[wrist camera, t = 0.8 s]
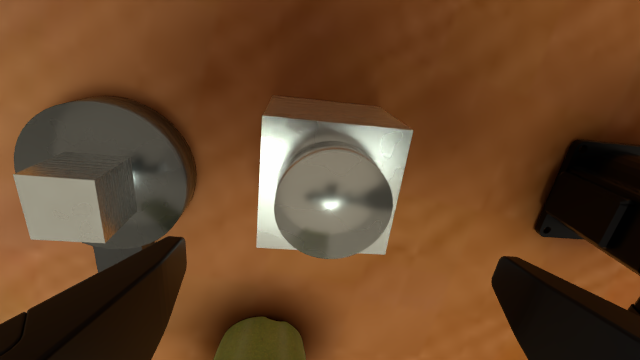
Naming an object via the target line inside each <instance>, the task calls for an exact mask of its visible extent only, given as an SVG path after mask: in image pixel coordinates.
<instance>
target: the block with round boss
mask: <svg viewBox="0 0 640 360" xmlns="http://www.w3.org/2000/svg"><path fill="white" fill-rule="evenodd" d="M412 134H413V130H412V129H411V128H409V127H408V126H406V125H405V124H404V123H402V122H401V121H399V120H398V119H396V118H395V117H394V116H392V115H391V114H389V113H388V112H387V111H385V110H384V109H382V108H381V107H379V106H371V105H361V104H352V103H342V102H333V101H323V100H314V99H304V98H295V97H285V96H276V95H273V96H272V98H271V100H270V102H269V103H268V105H267V107H266V109H265V111H264V113H263V115H262V130H261V153H260V177H259V200H258V223H257V247H256V248H274V249H293V250H299V251H301V252H303V253H305V254H307V255H310V256H313V257H317V258H324V259H337V258H344V257H348V256H351V255H354V254H357V253H365V254H383V255H385V252H386V248H387V243H388V239H389V235H390V230H391V226H392V222H393V217H394V213H395V208H396V204H397V200H398V195H399V191H400V186H401V182H402V178H403V173H404V169H405V165H406V160H407V156H408V151H409V147H410V143H411V138H412Z"/></svg>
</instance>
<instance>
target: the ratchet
mask: <svg viewBox="0 0 640 360" xmlns="http://www.w3.org/2000/svg"><path fill="white" fill-rule="evenodd" d="M14 167H15V172H16V173H15V174H13V176H14V180H15V183H16V187H17V191H18V194H19V198H20V202H21V205H22V209H23V213H24V216H25V220H26V224H27V227H28V231H29V234H30V238H31V239H35V240H53V241H72V242H82V243H85V244H88V245H91V246H93V248H94V253H95V258H96V264H97V269H98V273H99V272H101V271H103V270H105V269H107V268H109V267H110V266H112V265H114V264H116V263H118V262H120V261H122V260H124V259H126V258H128V257H129V256H131V255H133V254H135V253H137V252H139V251H141V250H143V249H145V248H147V247H148V246H150V245H152V244H154V243H155V240H157V239H159V238H161V237H162V236H163V235H165V234H166V233H167V232H168V231H169V230H170V229H171V228H172V227H173V226H174V224H175V223H176V222H177V220H178V219H179V217H180V216H181V215H182V213H183V212H184V210H185V209H186V208H187V206H188V205H189V203H190V201H191V199H192V197H193V194H194V191H195V186H196V166H195V162H194V158H193V155H192V153H191V150H190V148H189V146H188V144H187V142H186V141H185V139H184V138H183V136H182V135H181V134H180V132H179V131H178V130H177V129H176V128H175V127H174V125H173V124H172V123H170V122H169V121H168V120H167V119H166V118H165V117H163V116H162V115H161V114H159V113H158V112H156V111H155V110H153V109H151V108H149V107H148V106H146V105H143V104H141V103H139V102H136V101H133V100H130V99H126V98H121V97H115V96H96V97H90V98H85V99H81V100H77V101H72V102H68V103H64V104H59V105H55V106H53V107H50V108H48V109H45V110H44V111H42V112H40V113H39V114H37V115H36V116H34V117H33V118H32V119H31V120H30V121H29V122H28V123H27V124H26V126H25V127H24V128H23V129H22V131H21V133H20V135H19V137H18V140H17V143H16V146H15V152H14ZM163 334H164V333H163ZM162 336H163V335H162ZM157 347H158V346H157ZM156 349H157V348H156ZM155 351H156V350H155Z"/></svg>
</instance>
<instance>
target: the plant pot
mask: <svg viewBox="0 0 640 360" xmlns="http://www.w3.org/2000/svg"><path fill="white" fill-rule="evenodd" d="M213 360H306V356H305V351H304V346H303V341H302V338H301V336H300V334H299V332H298V331H297V330H296V329H295V328H294V327H293V326H292V325H290V324H289V323H287V322H285V321H282V322H279V321H274V320H271V319H268V318H266V317H253V318H248V319H245V320H242V321H240V322H238V323H236V324H235V325H233V326H232V327H230V328H229V329H228V330H227V331H226V333H225V335H224V336H223V338H222V340H221V342H220V344H219V347H218V349H217V352H216V354H215V357H214V359H213Z"/></svg>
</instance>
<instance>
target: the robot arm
mask: <svg viewBox="0 0 640 360" xmlns="http://www.w3.org/2000/svg"><path fill="white" fill-rule="evenodd" d="M581 146H582V148H581V149H580V147H581ZM579 149H580V150H579ZM535 230H536V232H537V233H538V234H540V235H541V236H543V237H555V238H570V239H585V240H587V241H588V242H590V243H591V244H593V245H594V246H596V247H597V248H599V249H600V250H602V251H603V252H605V253H606V254H608V255H609V256H611V257H612V258H614V259H615V260H617V261H618V262H620V263H621V264H623V265H624V266H626V267H627V268H629V269H630V270H632V271H633V272H635V273H636V274H638V275H639V276H640V145H631V144H621V143H611V142H601V141H591V140H576V141H574V142H573V143H572V144H571V146H570V148H569V150H568V152H567V155H566V157H565V159H564V162H563V164H562V166H561V169H560V171H559V173H558V176H557V178H556V180H555V183H554V185H553V187H552V190H551V192H550V194H549V197H548V199H547V201H546V204H545V206H544V209H543V211H542V213H541V216H540V218H539V220H538V223H537V225H536V228H535ZM186 265H187V260H186V244H185V239H184V238H183V237H172V236H168V237H166V238H164V239H162V240H160V241H158V242H156V243H154V244H152V245H150V246H148V247H147V248H145V249H143V250H141V251H139V252H137V253H135V254H133V255H131V256H129V257H128V258H126V259H124V260H122V261H120V262H118V263H116V264H114V265H112V266H110V267H109V268H107V269H105V270H103V271H101V272H99V273H97V274H95V275H93V276H91V277H89V278H88V279H86V280H84V281H82V282H80V283H78V284H76V285H74V286H72V287H70V288H68V289H67V290H65V291H63V292H61V293H59V294H57V295H55V296H53V297H51V298H49V299H48V300H46V301H44V302H42V303H40V304H38V305H36V306H34V307H32V308H30V309H29V310H28V311H27V313H26V312H23V313H21V314H19V315H17V316H15V317H13V318H11V319H9V320H7V321H6V322H4V323H2V324H0V360H151V359H152V357H153V355H154V353H155V350H156V348H157V346H158V344H159V342H160V340H161V338H162V335H163V333H164V331H165V329H166V326H167V324H168V321H169V319H170V316H171V313H172V310H173V307H174V304H175V301H176V298H177V295H178V292H179V289H180V286H181V283H182V280H183V277H184V274H185V271H186ZM492 287H493V289H494V292H495V294H496V296H497V298H498V300H499V303H500V305H501V307H502V309H503V311H504V313H505V316H506V318H507V320H508V322H509V324H510V327H511V329H512V331H513V333H514V335H515V337H516V339H517V341H518V342H519V344H520V346H521V348H522V349H523V351H524V353H525V355H526V356H527V358H528V360H640V297H639V298H638V300H637V301H636V303H635V304H631V306H630V307H629V309H628V310H626V309H624V308H622V307H619V306H617V305H615V304H613V303H611V302H609V301H607V300H605V299H603V298H601V297H599V296H597V295H595V294H593V293H590V292H588V291H586V290H584V289H582V288H580V287H578V286H576V285H574V284H572V283H570V282H568V281H566V280H564V279H561V278H559V277H557V276H555V275H553V274H551V273H549V272H547V271H545V270H543V269H541V268H539V267H537V266H535V265H532V264H530V263H528V262H526V261H524V260H522V259H520V258H518V257H510V256H503V257H501V258H500V259H499V261H498V264H497V266H496V269H495V272H494V274H493V277H492Z"/></svg>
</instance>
